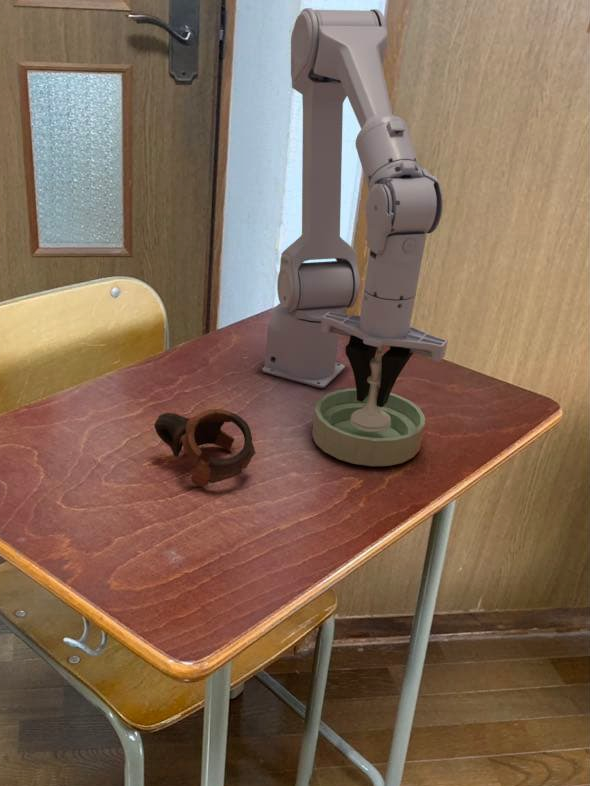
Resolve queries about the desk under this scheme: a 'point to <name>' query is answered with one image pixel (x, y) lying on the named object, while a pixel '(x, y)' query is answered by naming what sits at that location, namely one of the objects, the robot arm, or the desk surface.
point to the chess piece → (372, 403)
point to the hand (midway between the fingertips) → (372, 400)
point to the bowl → (365, 446)
